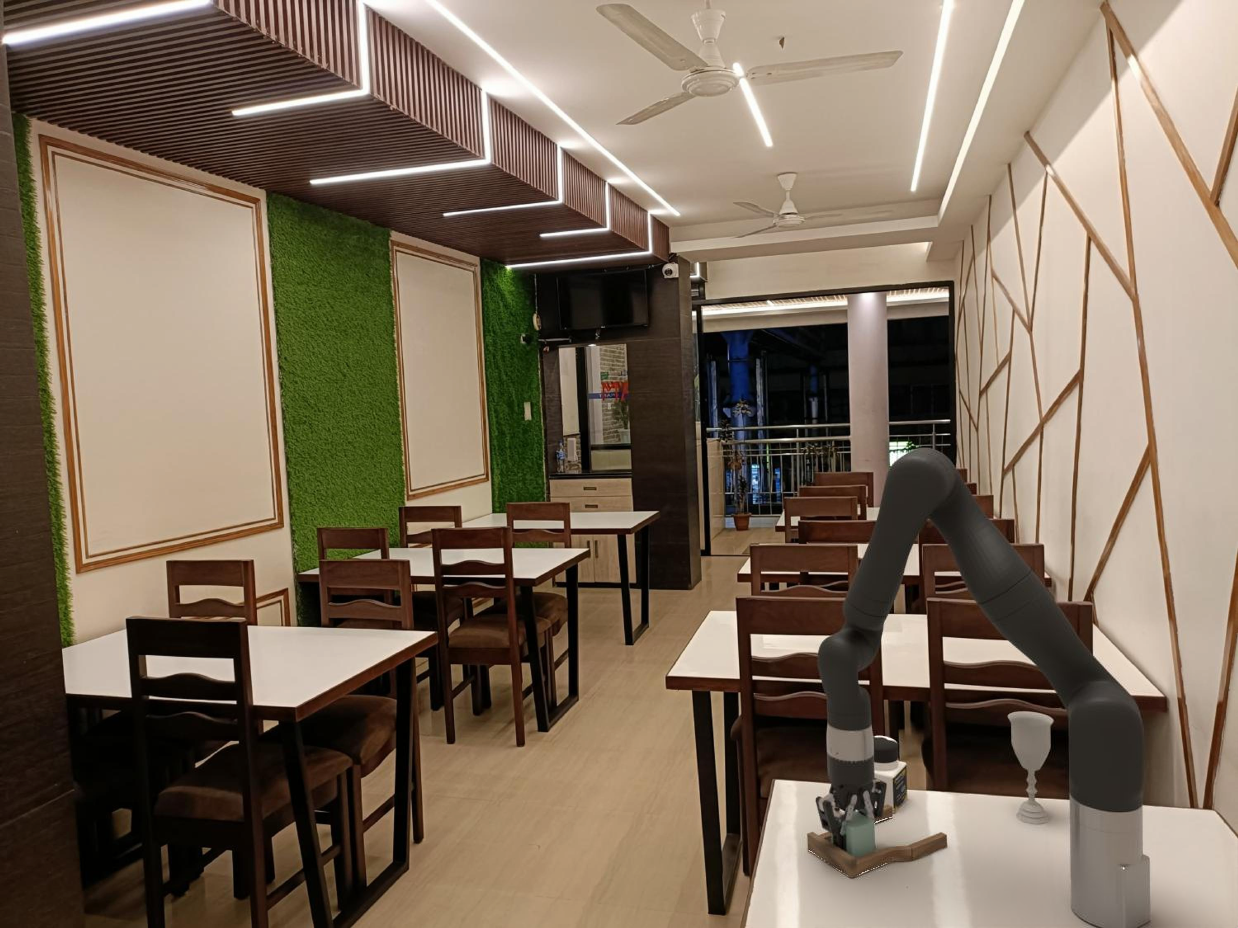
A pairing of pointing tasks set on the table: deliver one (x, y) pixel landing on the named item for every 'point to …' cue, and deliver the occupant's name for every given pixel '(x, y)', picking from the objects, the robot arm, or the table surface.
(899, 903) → the table surface
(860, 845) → the teal block
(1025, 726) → the chalice
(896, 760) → the medicine bottle
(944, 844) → the keyhole rail
